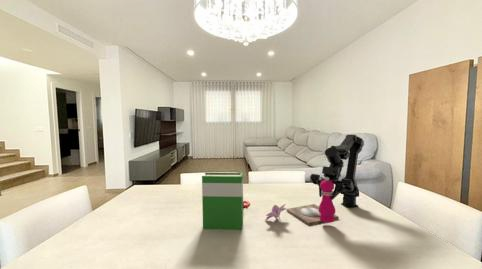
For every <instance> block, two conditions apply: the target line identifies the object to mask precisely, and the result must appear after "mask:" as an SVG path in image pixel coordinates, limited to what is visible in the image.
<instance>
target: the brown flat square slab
mask: <svg viewBox="0 0 482 269" xmlns="http://www.w3.org/2000/svg"><path fill="white" fill-rule="evenodd" d="M286 212H287V213H288V214H290V215H292V216H293V217H295V218H296V219H298V220H299V221H301V222H302V223H304V224H306V225H307V226H312V225H316V224H321V223H322V224H323V223H324V222H323V221H321V220H320V212H319V205H317V204H314V203H313V204H306V205H302V206H296V207H290V208H286ZM333 216H334V221H335V220H339V219H340V218H339V217H340V216H338V215H336V213H335V214H334V215H333Z"/></svg>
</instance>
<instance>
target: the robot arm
mask: <svg viewBox="0 0 482 269" xmlns="http://www.w3.org/2000/svg"><path fill="white" fill-rule="evenodd" d="M364 146H365V141H364V139H363V138H361V137H360V136H358V135H357V134H346V135H345V138H344V139H343V141H342V142H341V143H340V144H339V145H331V146H330V147H327V148H326V149H325V151H324V155H325V157H326V159H327V162H328V163H329V166H326V165H324V166H322V170H321V174H323V176H324V177H323V176H321V175H320V174H317V173H311V174H310V176H309V178H310V181H311V183H312V184H313V185H316V186H318V195H319V198H321V197H322V194H321V190H322V189H321V188H320V183H321V182H322V181H323V180H325V177H329V180H330V181H332V182H333V184H334V189H333V190H332V191H333V194H332V197H331V199H332V201H333V200H334V199H335V198H336V197H338V196H339V195H342V202H341V203H340V204H341V205H342V206H345V207H347V208H348V209H351V208H356V207H359V205H358V204H357V197H360V190H359V188H358V182H357V181H356V171H357V166H358V158H359V153H360V152H362V150H363V148H364ZM346 160H347V165H346V174H345V176H344V177H343V178H342V179H341V180H340V178H341V177H342V175H341V173H342V171H343V168H344V167H345V166H344V163H345V162H344V161H346Z"/></svg>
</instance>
